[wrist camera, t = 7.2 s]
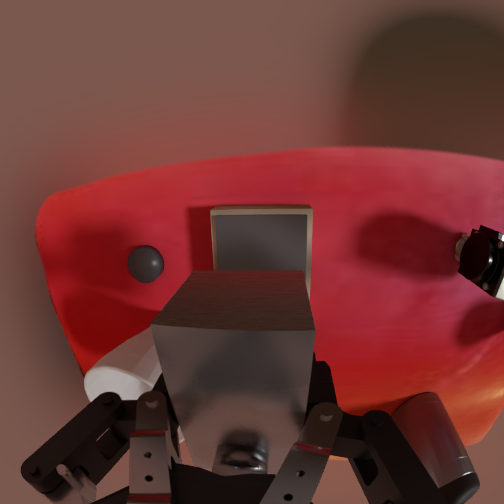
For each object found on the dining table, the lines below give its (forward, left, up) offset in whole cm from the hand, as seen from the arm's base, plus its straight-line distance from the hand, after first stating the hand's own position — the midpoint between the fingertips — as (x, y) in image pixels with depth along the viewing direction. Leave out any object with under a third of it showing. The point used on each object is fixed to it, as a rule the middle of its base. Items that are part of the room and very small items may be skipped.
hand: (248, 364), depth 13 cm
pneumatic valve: (+2, -25, -16) cm, 30 cm away
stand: (0, 0, -16) cm, 16 cm away
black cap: (0, +13, -16) cm, 21 cm away
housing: (0, 0, -1) cm, 1 cm away
